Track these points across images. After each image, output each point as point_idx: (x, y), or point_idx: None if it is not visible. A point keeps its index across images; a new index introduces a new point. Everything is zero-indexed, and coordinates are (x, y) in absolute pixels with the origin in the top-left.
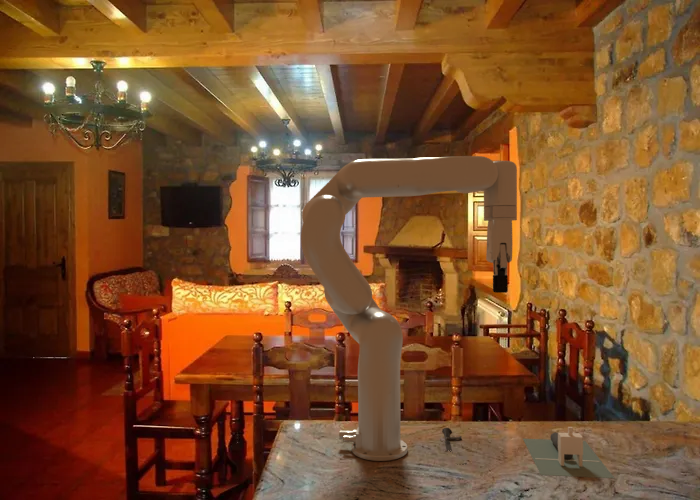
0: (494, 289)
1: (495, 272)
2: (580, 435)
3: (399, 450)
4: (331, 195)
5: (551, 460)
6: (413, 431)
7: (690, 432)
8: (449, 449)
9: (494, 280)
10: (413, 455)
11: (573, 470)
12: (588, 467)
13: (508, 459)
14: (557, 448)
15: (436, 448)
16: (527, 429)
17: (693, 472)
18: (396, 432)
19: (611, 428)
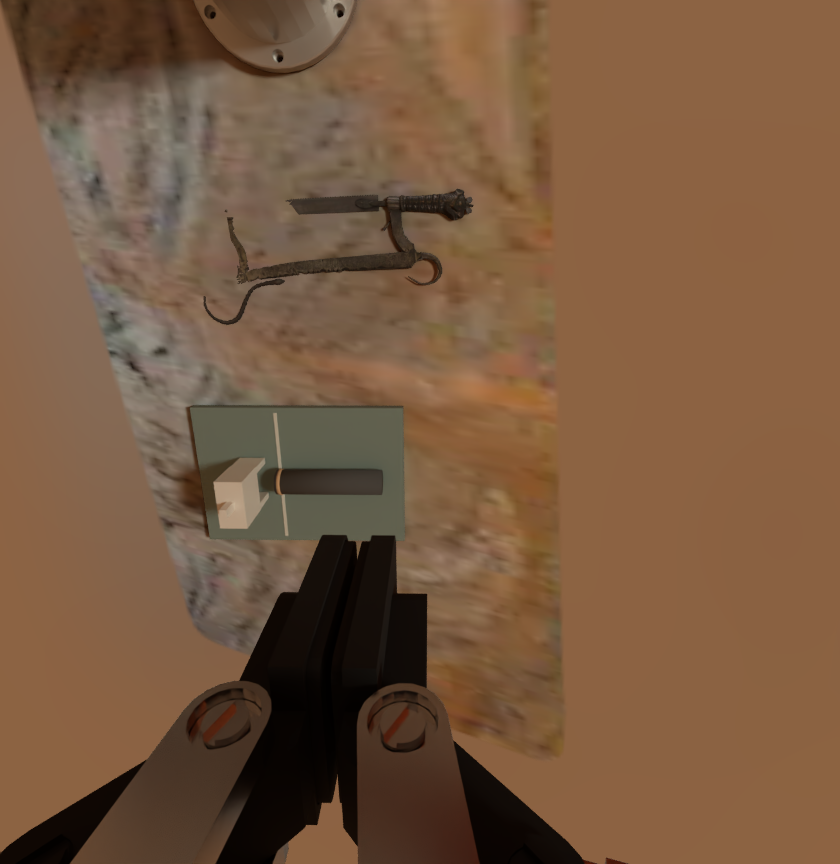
0: (317, 553)
1: (173, 731)
2: (232, 526)
3: (243, 41)
4: None
5: (273, 445)
6: (455, 90)
7: (497, 739)
8: (322, 206)
9: (293, 622)
10: (262, 95)
11: None
12: None
13: (285, 354)
14: (310, 470)
15: (325, 167)
16: (495, 433)
17: None
18: (219, 3)
19: (513, 615)
